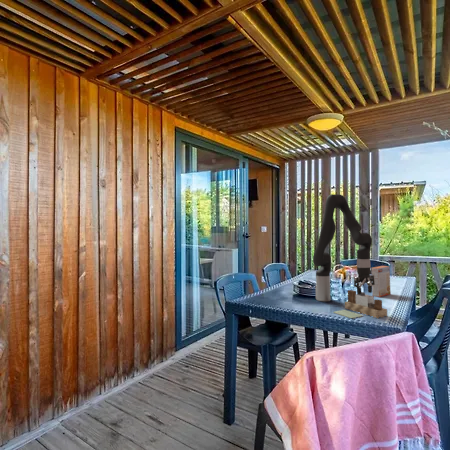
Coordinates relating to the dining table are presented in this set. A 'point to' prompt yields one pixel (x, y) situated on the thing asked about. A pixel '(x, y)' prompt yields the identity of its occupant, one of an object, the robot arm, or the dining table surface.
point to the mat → (347, 314)
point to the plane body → (373, 309)
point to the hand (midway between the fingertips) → (364, 293)
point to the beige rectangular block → (364, 299)
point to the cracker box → (381, 281)
